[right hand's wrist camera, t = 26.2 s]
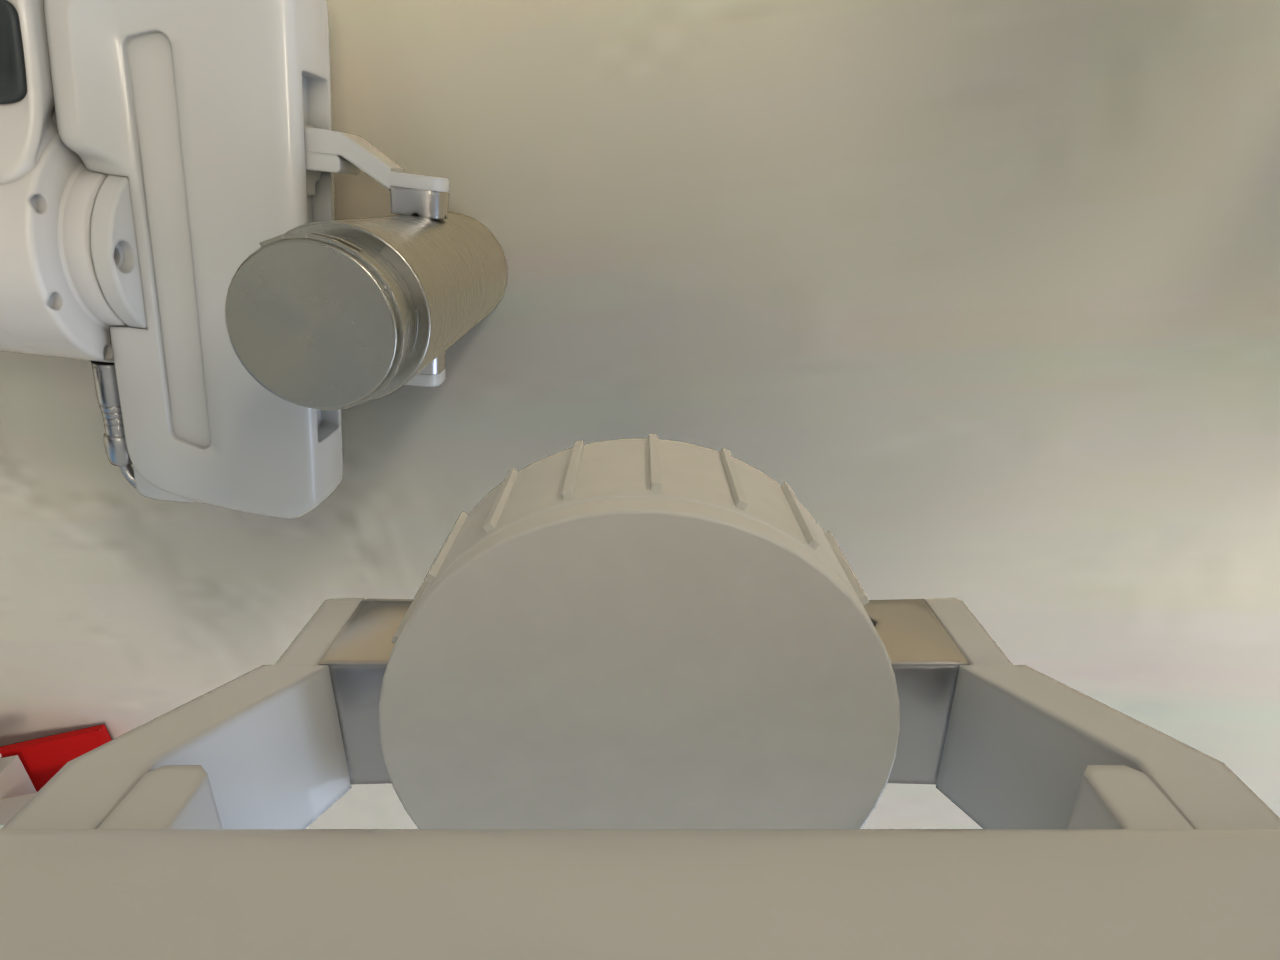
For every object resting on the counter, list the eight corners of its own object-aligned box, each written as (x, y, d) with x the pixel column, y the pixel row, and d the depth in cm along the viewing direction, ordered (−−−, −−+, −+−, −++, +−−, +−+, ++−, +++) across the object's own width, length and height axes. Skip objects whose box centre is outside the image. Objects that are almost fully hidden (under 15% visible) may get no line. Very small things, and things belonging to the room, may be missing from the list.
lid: (933, 646, 10) (1008, 763, 8) (624, 849, 12) (621, 993, 10) (659, 334, 9) (666, 382, 7) (340, 616, 10) (261, 729, 8)
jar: (523, 305, 34) (442, 390, 19) (424, 338, 34) (268, 446, 19) (483, 197, 32) (357, 194, 17) (380, 233, 33) (170, 261, 18)
